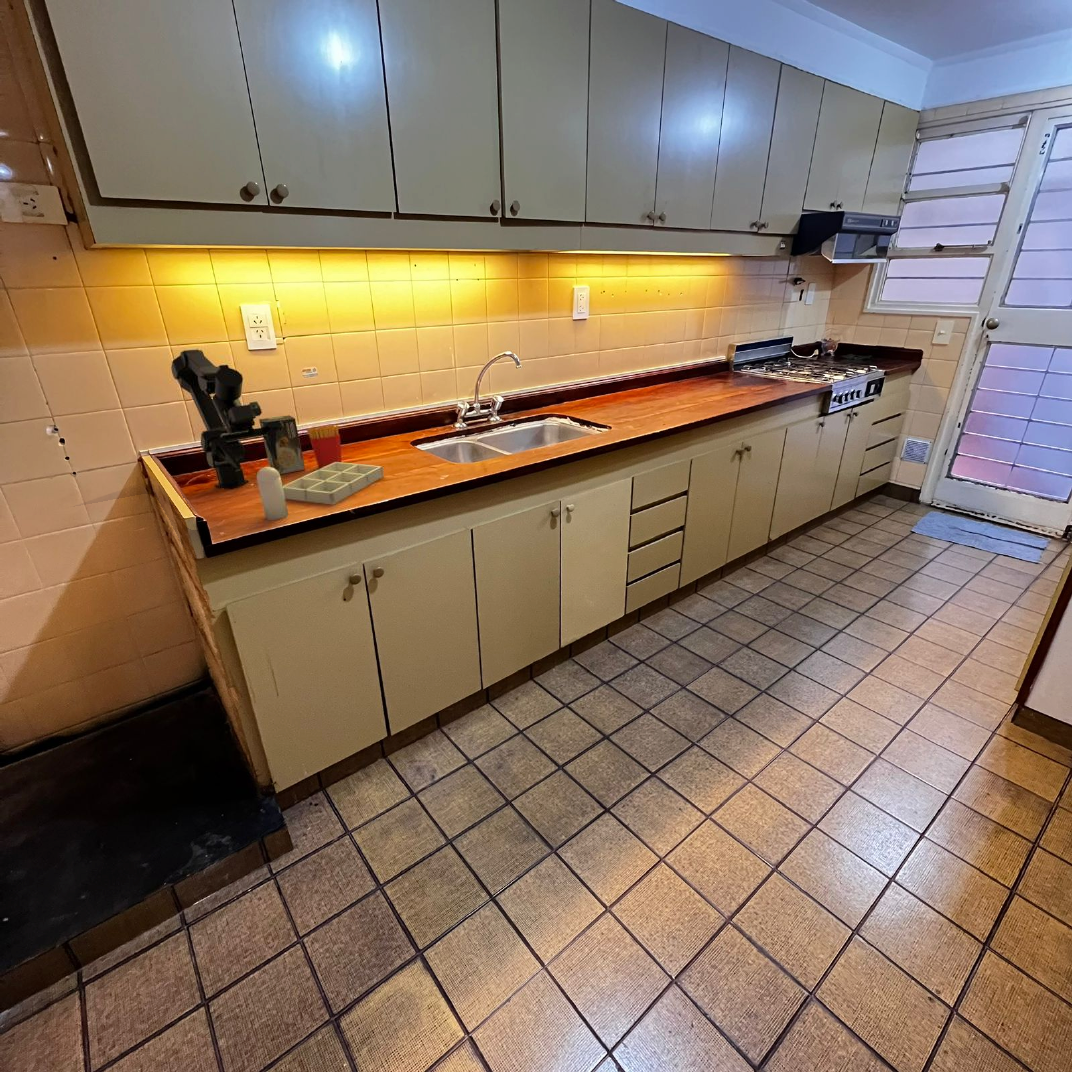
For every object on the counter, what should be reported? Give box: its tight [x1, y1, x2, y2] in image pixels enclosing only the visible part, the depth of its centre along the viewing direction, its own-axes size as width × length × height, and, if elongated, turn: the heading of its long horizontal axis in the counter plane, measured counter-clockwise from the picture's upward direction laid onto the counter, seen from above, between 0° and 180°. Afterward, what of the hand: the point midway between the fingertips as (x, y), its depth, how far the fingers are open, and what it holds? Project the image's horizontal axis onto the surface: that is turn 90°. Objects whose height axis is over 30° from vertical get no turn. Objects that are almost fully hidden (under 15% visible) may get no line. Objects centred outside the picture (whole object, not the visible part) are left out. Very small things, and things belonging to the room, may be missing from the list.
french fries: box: [306, 424, 343, 470], centre depth 175 cm, size 9×4×13 cm, turn 121°
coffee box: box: [258, 415, 306, 475], centre depth 171 cm, size 9×6×16 cm
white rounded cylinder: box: [256, 466, 289, 521], centre depth 138 cm, size 5×5×13 cm
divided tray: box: [282, 461, 384, 506], centre depth 159 cm, size 16×24×3 cm
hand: (257, 463), depth 139 cm, fingers open, 9 cm apart
